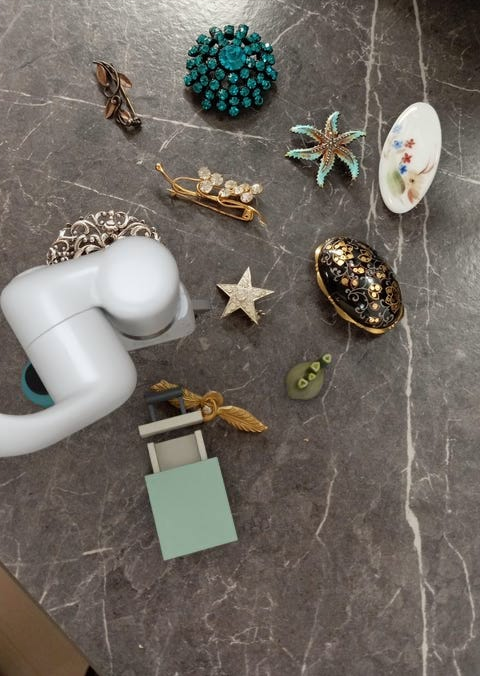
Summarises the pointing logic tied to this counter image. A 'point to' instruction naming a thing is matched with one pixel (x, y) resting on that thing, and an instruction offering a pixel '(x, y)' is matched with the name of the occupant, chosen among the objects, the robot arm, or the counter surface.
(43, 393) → the beverage bottle
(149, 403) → the drawer
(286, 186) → the counter surface
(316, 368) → the fennel bulb
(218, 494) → the green drawer cabinet
